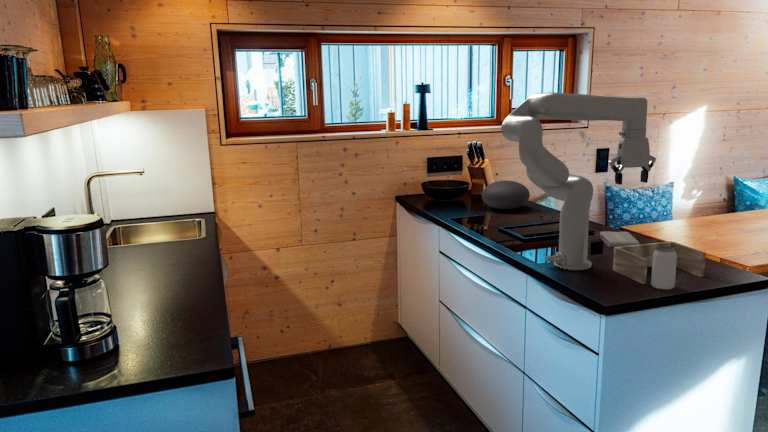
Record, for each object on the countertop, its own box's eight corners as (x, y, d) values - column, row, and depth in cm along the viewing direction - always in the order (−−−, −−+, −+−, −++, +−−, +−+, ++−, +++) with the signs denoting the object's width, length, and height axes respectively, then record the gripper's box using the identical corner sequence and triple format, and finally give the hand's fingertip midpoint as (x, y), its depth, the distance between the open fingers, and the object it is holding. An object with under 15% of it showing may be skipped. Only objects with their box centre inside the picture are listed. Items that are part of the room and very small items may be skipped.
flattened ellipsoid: (473, 211, 289) (473, 183, 286) (493, 202, 309) (493, 176, 306) (518, 215, 275) (519, 186, 272) (536, 206, 295) (537, 178, 292)
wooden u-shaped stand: (642, 284, 173) (644, 259, 172) (612, 269, 188) (613, 247, 186) (703, 276, 178) (705, 252, 176) (670, 263, 193) (671, 241, 191)
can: (677, 290, 167) (680, 252, 164) (654, 289, 168) (656, 251, 166) (670, 283, 173) (673, 246, 171) (648, 282, 174) (651, 246, 172)
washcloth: (627, 236, 231) (627, 229, 230) (641, 248, 213) (641, 240, 213) (597, 236, 232) (598, 229, 232) (609, 248, 215) (609, 240, 214)
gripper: (616, 136, 187) (614, 186, 190) (663, 133, 189) (660, 182, 193) (604, 134, 194) (602, 183, 198) (649, 132, 196) (647, 179, 200)
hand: (631, 183), depth 195 cm, fingers open, 9 cm apart
